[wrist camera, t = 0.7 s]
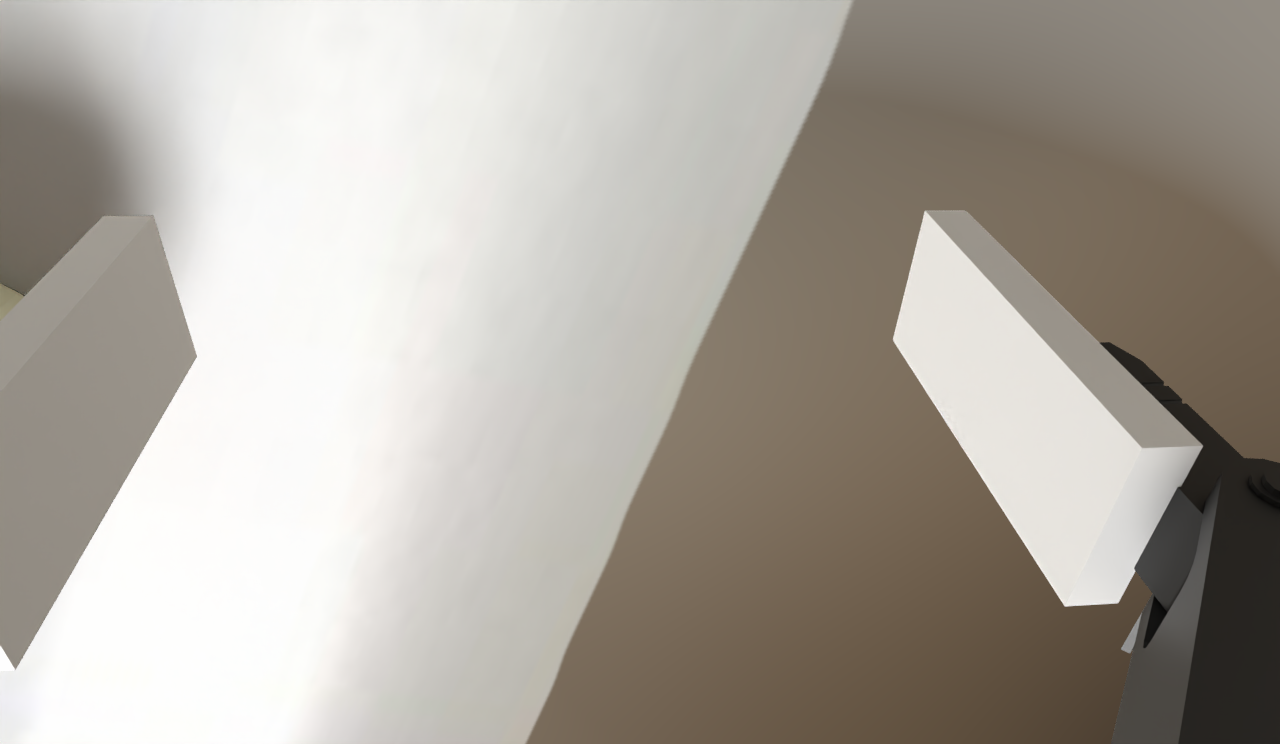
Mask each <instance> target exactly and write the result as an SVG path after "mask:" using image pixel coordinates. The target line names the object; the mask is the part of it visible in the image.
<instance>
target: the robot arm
mask: <svg viewBox="0 0 1280 744" xmlns="http://www.w3.org/2000/svg"><path fill="white" fill-rule="evenodd" d="M893 341H894V343H895V344H896V346H897V347H898V349H899V350H900V352H901V353H902V355H903V357H904V358H905V359H906V361H907V363H908V364H909V366H910V367H911V369H912V370H913V372H914V374H915V375H916V376H917V378H918V380H919V381H920V383H921V384H922V386H923V387H924V389H925V391H926V392H927V394H928V395H929V397H930V398H931V400H932V401H933V403H934V405H935V406H936V408H937V409H938V411H939V412H940V414H941V415H942V417H943V418H944V420H945V422H946V423H947V425H948V426H949V428H950V429H951V431H952V432H953V434H954V436H955V437H956V439H957V440H958V442H959V443H960V444H961V446H962V448H963V449H964V451H965V453H966V454H967V456H968V457H969V459H970V460H971V462H972V463H973V465H974V466H975V468H976V470H977V471H978V473H979V474H980V476H981V477H982V479H983V480H984V482H985V483H986V485H987V487H988V488H989V490H990V491H991V493H992V494H993V496H994V497H995V499H996V501H997V502H998V504H999V505H1000V507H1001V508H1002V510H1003V511H1004V513H1005V514H1006V516H1007V518H1008V519H1009V520H1010V522H1011V524H1012V525H1013V527H1014V528H1015V530H1016V532H1017V533H1018V535H1019V536H1020V538H1021V539H1022V541H1023V542H1024V544H1025V545H1026V547H1027V548H1028V550H1029V552H1030V553H1031V555H1032V556H1033V558H1034V559H1035V561H1036V563H1037V564H1038V566H1039V567H1040V569H1041V570H1042V572H1043V573H1044V575H1045V576H1046V578H1047V580H1048V581H1049V583H1050V584H1051V586H1052V587H1053V589H1054V590H1055V592H1056V593H1057V595H1058V596H1059V598H1060V600H1061V601H1062V603H1063V604H1064V606H1077V605H1095V604H1112V603H1118V602H1119V600H1120V598H1121V597H1122V595H1123V593H1124V591H1125V589H1126V587H1127V586H1128V584H1129V582H1130V580H1131V578H1132V576H1133V574H1134V573H1135V571H1136V572H1137V573H1138V574H1139V576H1140V577H1141V579H1142V580H1143V581H1144V583H1145V584H1146V585H1147V586H1148V588H1149V589H1150V590H1151V592H1152V593H1153V594H1152V596H1151V597H1150V599H1149V601H1148V603H1147V604H1146V606H1145V608H1144V610H1143V611H1142V613H1141V615H1140V617H1139V618H1138V620H1137V622H1136V624H1135V625H1134V627H1133V629H1132V631H1131V632H1130V634H1129V636H1128V638H1127V639H1126V641H1125V643H1124V645H1123V646H1122V648H1121V650H1124V651H1126V652H1128V653H1130V652H1131V651H1132V650H1133V653H1132V657H1131V662H1130V666H1129V670H1128V674H1127V679H1126V683H1125V687H1124V691H1123V696H1122V700H1121V704H1120V708H1119V713H1118V717H1117V722H1116V725H1115V730H1114V734H1113V739H1112V743H1111V744H1280V463H1277V462H1273V461H1269V460H1265V459H1250V458H1249V459H1248V458H1243V457H1242V456H1241V455H1240V454H1239V453H1238V452H1237V451H1236V450H1235V449H1234V448H1233V447H1232V446H1231V445H1230V444H1229V443H1228V442H1226V441H1225V440H1224V439H1223V438H1222V437H1221V436H1220V435H1219V434H1218V433H1217V432H1216V431H1215V430H1214V429H1213V428H1212V427H1211V426H1209V424H1208V423H1206V421H1204V420H1203V419H1202V418H1201V417H1200V416H1199V415H1198V414H1197V413H1196V412H1195V411H1194V410H1193V409H1192V408H1191V407H1190V406H1189V405H1188V404H1182V399H1181V398H1180V397H1179V396H1178V395H1177V394H1176V393H1175V392H1174V391H1173V390H1172V389H1171V388H1170V387H1169V386H1164V385H1163V384H1164V382H1163V381H1162V380H1161V379H1160V378H1159V377H1158V376H1157V375H1156V374H1155V373H1154V372H1153V371H1152V370H1151V369H1149V367H1148V366H1147V365H1146V364H1145V363H1144V362H1142V361H1141V360H1140V359H1138V358H1136V357H1134V356H1132V355H1131V354H1129V353H1127V352H1126V351H1124V350H1122V349H1120V348H1118V347H1116V346H1115V345H1113V344H1112V343H1109V342H1106V343H1099V342H1098V341H1097V340H1096V339H1095V338H1094V337H1093V336H1092V335H1091V334H1090V333H1089V332H1088V331H1087V330H1085V328H1084V327H1083V326H1082V325H1081V324H1080V323H1079V322H1078V321H1077V320H1076V319H1074V317H1073V316H1072V315H1071V314H1070V313H1069V312H1067V311H1066V309H1065V308H1064V307H1063V306H1062V305H1061V304H1060V303H1058V301H1056V299H1054V297H1052V296H1051V295H1050V294H1049V293H1048V292H1047V291H1046V290H1045V289H1044V288H1043V287H1042V286H1041V285H1040V284H1039V283H1038V282H1037V281H1036V280H1035V279H1034V278H1033V277H1032V276H1031V275H1030V274H1029V273H1028V272H1027V271H1026V270H1025V269H1024V268H1023V267H1022V266H1021V265H1020V264H1019V263H1018V262H1017V261H1016V260H1015V259H1014V258H1013V257H1012V256H1011V255H1010V254H1009V253H1008V252H1007V251H1006V250H1005V249H1004V248H1003V247H1002V246H1001V245H1000V244H999V243H998V242H997V241H996V240H995V239H994V238H993V237H992V236H991V235H990V234H989V233H988V232H987V231H986V230H985V229H984V228H983V227H982V226H981V225H980V224H979V223H978V222H977V221H976V220H975V219H974V218H973V217H972V216H971V215H970V214H969V213H968V212H967V211H966V210H960V211H959V210H958V211H925V213H924V217H923V221H922V226H921V229H920V233H919V237H918V241H917V245H916V249H915V253H914V257H913V261H912V266H911V269H910V274H909V277H908V282H907V285H906V290H905V294H904V297H903V301H902V305H901V310H900V313H899V318H898V321H897V325H896V329H895V333H894V337H893ZM196 357H197V355H196V352H195V349H194V345H193V342H192V339H191V336H190V333H189V329H188V326H187V323H186V320H185V316H184V313H183V310H182V307H181V303H180V300H179V297H178V294H177V290H176V287H175V284H174V281H173V278H172V274H171V271H170V268H169V265H168V261H167V258H166V255H165V252H164V248H163V245H162V242H161V239H160V235H159V232H158V229H157V226H156V223H155V219H154V216H103V217H102V218H101V219H100V220H99V221H98V222H97V223H96V224H95V225H94V226H93V227H92V228H91V229H90V230H89V231H88V232H87V233H86V234H85V235H84V236H83V237H82V238H81V239H80V240H79V241H78V242H77V243H76V244H75V245H74V246H73V247H72V248H71V249H70V250H69V251H68V252H67V253H66V254H65V255H64V257H63V258H62V259H61V260H60V261H59V262H58V263H57V264H56V265H55V266H54V267H53V268H52V269H51V270H50V271H49V272H48V273H47V274H46V275H45V276H44V277H43V278H42V279H41V280H40V281H39V282H38V283H37V284H36V285H35V286H34V287H33V288H32V289H31V290H30V291H29V292H28V293H27V294H26V295H25V296H24V297H23V298H22V299H21V300H20V301H19V302H18V303H17V304H16V305H15V306H14V308H13V309H12V310H11V311H10V312H9V313H8V314H7V315H6V316H5V317H4V318H3V319H2V320H1V321H0V671H8V670H16V668H17V666H18V665H19V663H20V661H21V659H22V658H23V656H24V654H25V652H26V651H27V649H28V647H29V646H30V644H31V642H32V640H33V639H34V637H35V635H36V633H37V632H38V630H39V628H40V627H41V625H42V623H43V621H44V620H45V618H46V616H47V614H48V613H49V611H50V609H51V608H52V606H53V604H54V602H55V601H56V599H57V597H58V595H59V594H60V592H61V590H62V589H63V587H64V585H65V583H66V582H67V580H68V578H69V576H70V575H71V573H72V571H73V570H74V568H75V566H76V564H77V563H78V561H79V559H80V557H81V556H82V554H83V552H84V551H85V549H86V547H87V545H88V544H89V542H90V540H91V538H92V537H93V535H94V533H95V532H96V530H97V528H98V526H99V525H100V523H101V521H102V519H103V518H104V516H105V514H106V513H107V511H108V509H109V507H110V506H111V504H112V502H113V500H114V499H115V497H116V495H117V494H118V492H119V490H120V488H121V487H122V485H123V483H124V481H125V480H126V478H127V476H128V475H129V473H130V471H131V469H132V468H133V466H134V464H135V462H136V461H137V459H138V457H139V456H140V454H141V452H142V450H143V449H144V447H145V445H146V443H147V442H148V440H149V438H150V437H151V435H152V433H153V431H154V430H155V428H156V426H157V424H158V423H159V421H160V419H161V418H162V416H163V414H164V412H165V411H166V409H167V407H168V405H169V404H170V402H171V400H172V399H173V397H174V395H175V393H176V392H177V390H178V388H179V387H180V385H181V383H182V381H183V380H184V378H185V376H186V374H187V373H188V371H189V369H190V368H191V366H192V364H193V362H194V361H195V359H196ZM1133 648H1134V649H1133Z"/></svg>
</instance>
